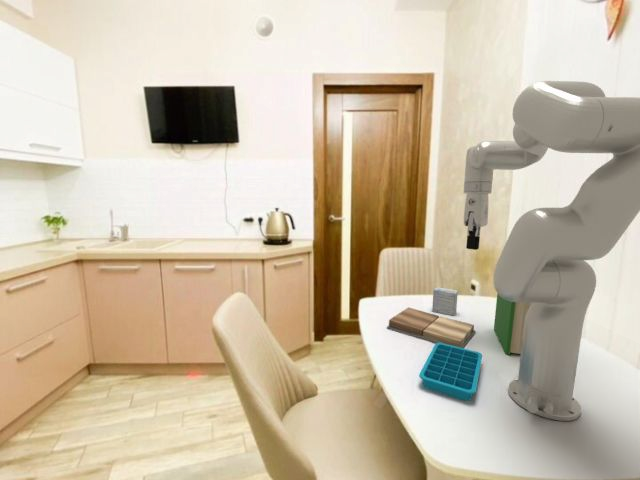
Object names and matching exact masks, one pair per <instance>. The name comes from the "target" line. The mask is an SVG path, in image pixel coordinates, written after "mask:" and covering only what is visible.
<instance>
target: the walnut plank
mask: <svg viewBox="0 0 640 480" xmlns="http://www.w3.org/2000/svg"><path fill="white" fill-rule="evenodd" d="M439 317H440V316H439V315H437V314H434V313H430V312H426V311H424V310H423V311H422V310H420V309H416V308H412V307H410V306H409V307H406V308H405V309H404V310H402V311H401V312H399V313H398V314H396V315H394V316H393V317H391V318H390V319H388V326H392V327H395V328H398V329H401V330H404V331H407V332H410V333H413V334H416V335H419V336H423V331H424V330H425V329H426V328H427V327H428V326H429V325H431V324H432V323H433V322H434V321H435V320H436V319H437V318H439Z"/></svg>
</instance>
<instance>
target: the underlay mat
mask: <svg viewBox="0 0 640 480" xmlns="http://www.w3.org/2000/svg"><path fill="white" fill-rule="evenodd" d="M386 329H387V330H390V331H394V332H396V333H401V334H403V335H406V336H411V337H413V338H416V339H420V340H422V341H427V342H430V343H433V344H436V343H441V342H438V341H435V340H431V339H428V338H425V337H423V336H419V335H416V334H413V333H410V332H407V331H404V330H401V329H398V328H395V327H392V326H389V325H387V326H386ZM475 334H476V330H475V329H474V331H473V332H472V333H471V335H470V336H469V337H468V339H467V340H466V341H465V342H464V344H463V345H462V346H461V348H464V349H465V347H466V346H467V344H468V343H469V342H470V341H471V340H472V338H473V336H474V335H475ZM443 344H445V343H443ZM447 345H448V344H447Z"/></svg>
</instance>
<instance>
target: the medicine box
mask: <svg viewBox="0 0 640 480" xmlns="http://www.w3.org/2000/svg"><path fill="white" fill-rule="evenodd" d="M432 291H433V293H432V307H431V312H433V313H438V314H444V315H449V316H456V313H457V308H458V294H459V291H458V290H456V289H452V288H451V289H450V288H445V287H435V288H434V289H433V290H432Z"/></svg>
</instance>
